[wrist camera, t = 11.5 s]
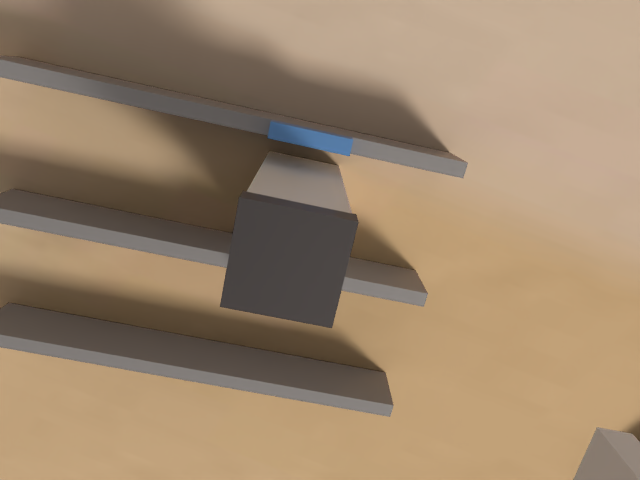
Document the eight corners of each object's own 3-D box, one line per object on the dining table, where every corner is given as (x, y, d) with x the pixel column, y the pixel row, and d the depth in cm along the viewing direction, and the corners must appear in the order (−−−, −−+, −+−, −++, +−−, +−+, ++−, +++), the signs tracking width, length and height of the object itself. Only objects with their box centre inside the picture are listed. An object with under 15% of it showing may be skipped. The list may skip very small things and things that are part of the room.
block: (255, 218, 30) (219, 306, 19) (268, 148, 29) (239, 196, 18) (324, 233, 31) (331, 328, 19) (340, 164, 29) (358, 221, 18)
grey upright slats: (7, 314, 32) (-40, 351, 28) (17, 56, 27) (-38, 53, 23) (382, 382, 34) (392, 427, 29) (450, 152, 29) (473, 166, 25)
